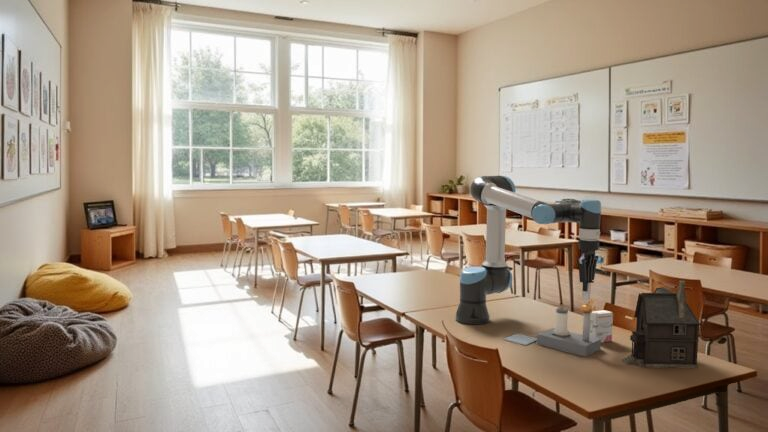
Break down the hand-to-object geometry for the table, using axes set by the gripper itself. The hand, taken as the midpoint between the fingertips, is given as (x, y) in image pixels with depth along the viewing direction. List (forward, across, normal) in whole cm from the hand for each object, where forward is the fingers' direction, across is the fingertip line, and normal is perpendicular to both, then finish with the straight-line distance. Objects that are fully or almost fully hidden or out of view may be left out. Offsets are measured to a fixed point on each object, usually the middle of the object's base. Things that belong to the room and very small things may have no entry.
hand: (585, 298), depth 219 cm
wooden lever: (+5, -4, -4) cm, 7 cm away
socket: (+17, -10, +1) cm, 20 cm away
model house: (+17, 0, -27) cm, 32 cm away
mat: (+18, -16, +18) cm, 30 cm away
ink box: (+18, +6, -4) cm, 19 cm away
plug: (+17, -10, +4) cm, 21 cm away
